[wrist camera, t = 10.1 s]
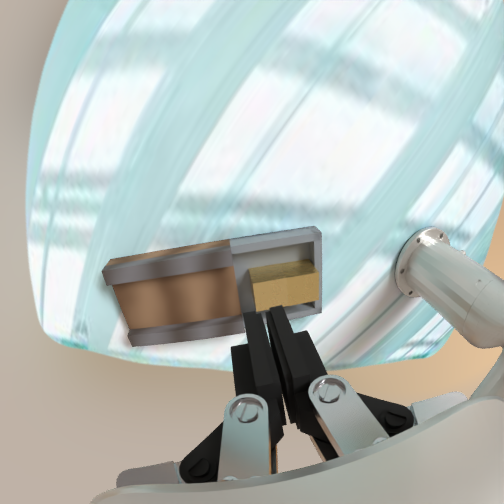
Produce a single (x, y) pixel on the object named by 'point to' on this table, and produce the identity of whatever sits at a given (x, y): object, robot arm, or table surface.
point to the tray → (273, 252)
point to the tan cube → (301, 281)
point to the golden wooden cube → (268, 286)
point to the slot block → (177, 293)
